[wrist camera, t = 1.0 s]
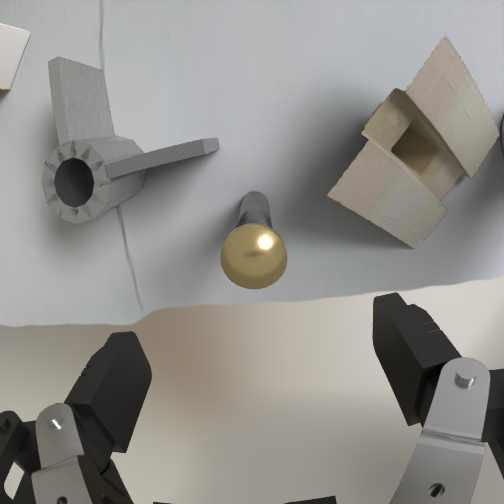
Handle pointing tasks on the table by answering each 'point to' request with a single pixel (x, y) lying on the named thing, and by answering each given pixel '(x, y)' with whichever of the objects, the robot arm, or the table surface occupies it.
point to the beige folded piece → (419, 149)
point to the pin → (254, 246)
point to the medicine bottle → (10, 53)
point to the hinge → (96, 148)
